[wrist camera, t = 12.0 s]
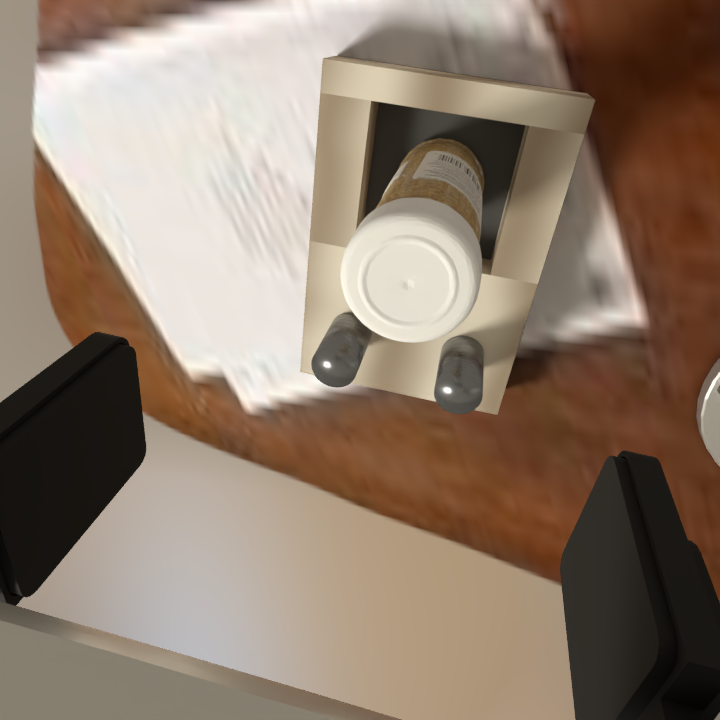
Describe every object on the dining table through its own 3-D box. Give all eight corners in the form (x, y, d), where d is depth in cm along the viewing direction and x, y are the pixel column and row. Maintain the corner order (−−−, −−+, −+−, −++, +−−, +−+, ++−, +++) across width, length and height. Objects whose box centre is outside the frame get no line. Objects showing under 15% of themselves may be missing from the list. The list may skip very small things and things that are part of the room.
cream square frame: (587, 93, 26) (611, 112, 21) (497, 391, 35) (497, 459, 30) (336, 55, 27) (296, 64, 22) (311, 351, 36) (278, 410, 31)
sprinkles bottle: (380, 169, 29) (309, 260, 18) (457, 117, 27) (431, 182, 16) (427, 242, 31) (387, 368, 20) (502, 197, 29) (508, 309, 18)
